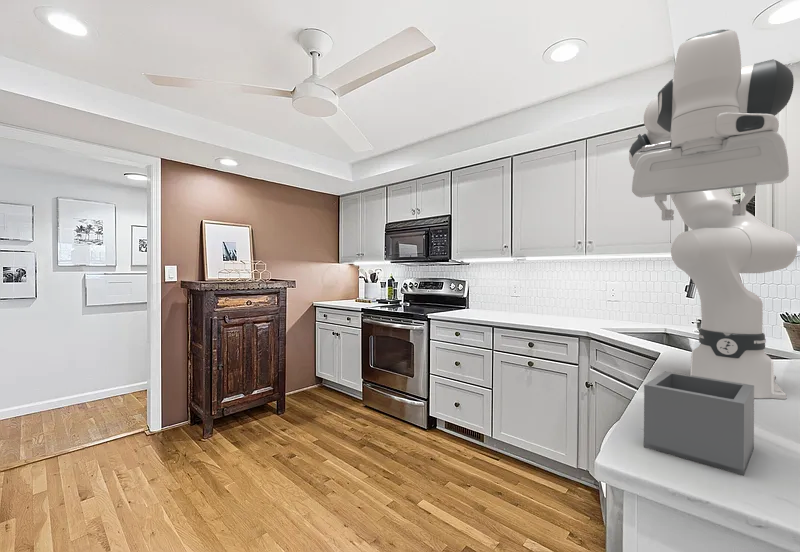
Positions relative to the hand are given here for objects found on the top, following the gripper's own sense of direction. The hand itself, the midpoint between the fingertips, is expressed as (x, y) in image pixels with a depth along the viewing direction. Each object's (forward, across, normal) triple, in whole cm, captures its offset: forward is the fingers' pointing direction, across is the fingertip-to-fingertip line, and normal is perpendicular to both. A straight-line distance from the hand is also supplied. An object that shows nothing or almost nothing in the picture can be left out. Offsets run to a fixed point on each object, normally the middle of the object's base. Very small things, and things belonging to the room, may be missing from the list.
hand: (701, 218), depth 63 cm
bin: (+36, +2, -7) cm, 37 cm away
